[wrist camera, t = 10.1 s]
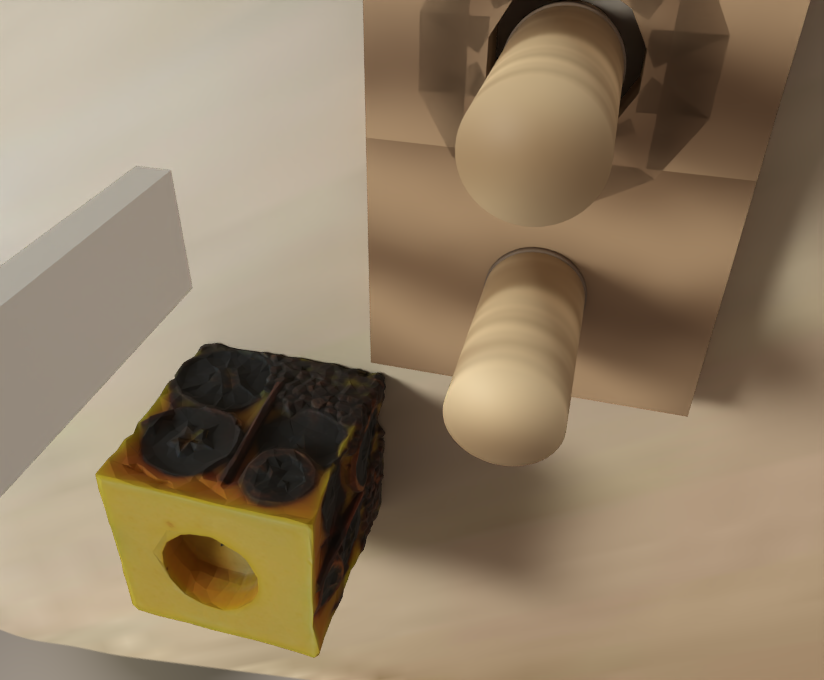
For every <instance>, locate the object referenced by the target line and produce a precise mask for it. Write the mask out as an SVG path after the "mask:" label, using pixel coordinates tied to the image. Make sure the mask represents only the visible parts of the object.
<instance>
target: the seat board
mask: <svg viewBox="0 0 824 680" xmlns="http://www.w3.org/2000/svg"><path fill="white" fill-rule="evenodd" d="M512 1H513V0H363V23H364V68H365V113H366V159H367V204H368V249H369V294H370V340H371V362H372V363H377V364H383V365H389V366H395V367H401V368H407V369H412V370H418V371H424V372H430V373H436V374H442V375H448V376H453V377H452V380H451V383H450V386H449V389H448V392H447V394H446V397H445V400H444V404H443V418H444V423H445V425H446V428H447V430H448V432H449V434H450V435H451V436H452V438H453V439H454V440H455V441H456V443H457V444H458V445H459V446H461V447H462V448H463V449H464V450H465V451H467V452H468V453H470V454H471V455H473V456H475V457H477V458H479V459H481V460H483V461H486V462H489V463H493V464H497V465H503V466H524V465H530V464H534V463H537V462H539V461H542V460H544V459H546V458H547V457H549V456H550V455H552V454H553V453H554V452H555V451H556V450H557V449H558V448H559V446H560V445H561V444H562V442H563V439H564V437H565V433H566V428H567V421H568V414H569V407H570V400H571V397H576V398H582V399H588V400H594V401H599V402H605V403H611V404H617V405H623V406H629V407H634V408H640V409H646V410H652V411H658V412H664V413H670V414H675V415H681V416H687V417H688V413H689V410H690V406H691V403H692V400H693V396H694V393H695V390H696V386H697V383H698V379H699V376H700V373H701V369H702V366H703V362H704V359H705V356H706V352H707V349H708V345H709V342H710V339H711V335H712V332H713V329H714V325H715V322H716V318H717V315H718V312H719V308H720V305H721V301H722V298H723V295H724V291H725V288H726V284H727V281H728V278H729V274H730V271H731V268H732V264H733V261H734V257H735V254H736V251H737V247H738V244H739V240H740V237H741V234H742V230H743V227H744V223H745V220H746V217H747V213H748V210H749V207H750V203H751V200H752V196H753V193H754V190H755V186H756V183H757V179H758V176H759V173H760V169H761V166H762V162H763V159H764V156H765V152H766V149H767V146H768V142H769V139H770V135H771V132H772V129H773V125H774V122H775V118H776V115H777V112H778V108H779V105H780V101H781V98H782V95H783V91H784V88H785V85H786V81H787V78H788V74H789V71H790V68H791V64H792V61H793V57H794V54H795V51H796V47H797V44H798V40H799V37H800V34H801V30H802V27H803V24H804V20H805V17H806V13H807V10H808V7H809V3H810V0H621V1H622V2H624V3H625V4H626V5H628V6H629V7H630V8H632V10H633V13H634V16H635V18H636V21H637V24H638V26H639V29H640V32H641V34H642V37H643V40H644V43H645V45H646V48H645V53H644V59H643V64H642V70H641V75H640V77H639V78H638V79H637V80H636V82H635V83H634V84H633V85H632V86H631V88H630V89H629V90H628V91H627V93H626V94H625V95H624V96H623V98H622V99H621V100H620V106H619V114H618V122H617V130H616V138H615V146H614V154H613V163H612V168H611V172H610V175H609V178H608V180H607V183H606V185H605V187H604V188H603V190H602V192H601V193H600V195H599V196H598V197H597V198H596V200H595V201H594V202H593V203H592V204H591V205H590V206H589V207H588V208H587V209H585V210H584V211H583V212H581V213H580V214H578V215H577V216H575V217H573V218H571V219H569V220H567V221H564V222H562V223H558V224H555V225H550V226H544V227H526V226H520V225H515V224H511V223H508V222H505V221H503V220H501V219H499V218H496V217H495V216H493V215H491V214H490V213H488V212H487V211H486V210H484V209H483V208H482V207H481V206H480V205H479V204H478V203H477V202H476V201H475V200H474V199H473V198H472V197H471V196H470V194H469V193H468V191H467V190H466V188H465V186H464V185H463V183H462V180H461V178H460V176H459V172H458V169H457V165H456V158H455V144H456V136H457V132H458V129H459V126H460V123H461V121H462V119H463V117H464V115H465V113H466V112H467V110H468V108H469V107H470V105H471V103H472V102H473V100H474V98H475V97H476V95H477V93H478V92H479V90H480V88H481V87H482V85H483V83H484V81H485V80H486V78H487V76H488V75H489V73H490V71H491V70H492V68H493V66H494V65H495V59H496V46H497V33H498V22H499V21H500V19H501V18H502V16H503V15H504V13H505V12H506V10H507V8H508V7H509V5H510V4H511V2H512Z"/></svg>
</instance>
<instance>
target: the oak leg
mask: <svg viewBox="0 0 824 680" xmlns="http://www.w3.org/2000/svg"><path fill="white" fill-rule="evenodd" d="M625 73H626V51H625V46H624V43H623V39H622V37H621V35H620V33H619V31H618V29H617V28H616V26H615V25H614V24H613V22H612V21H611V20H610V19H609V18H608V17H607V16H606V15H605V14H604V13H603V12H602V11H601V10H600V9H599V8H597V7H596V6H594V5H592V4H590V3H587V2H584V1H580V0H563V1H559V2H554V3H550V4H546V5H544V6H541V7H539V8H537V9H535V10H534V11H532V12H530V13H529V14H528V15H527V16H525V17H524V18H523V19H522V20H521V21H520V22H519V23H518V24H517V26H516V27H515V28H514V30H513V31H512V33H511V34H510V36H509V38H508V40H507V42H506V44H505V47H504V50H503V51H502V53H501V55H500V56H499V58H498V60H497V61H496V63H495V65H494V66H493V68H492V70H491V71H490V73H489V75H488V76H487V78H486V80H485V81H484V83H483V85H482V87H481V88H480V90H479V92H478V93H477V95H476V97H475V98H474V100H473V102H472V103H471V105H470V107H469V108H468V110H467V112H466V113H465V115H464V117H463V119H462V121H461V123H460V126H459V129H458V132H457V136H456V144H455V158H456V165H457V169H458V172H459V176H460V178H461V180H462V183H463V185H464V186H465V188H466V190H467V191H468V193H469V194H470V196H471V197H472V198H473V199H474V200H475V201H476V202H477V203H478V204H479V205H480V206H481V207H482V208H483V209H484V210H486V211H487V212H488V213H490V214H491V215H493V216H495V217H496V218H499V219H501V220H503V221H505V222H508V223H511V224H515V225H520V226H526V227H544V226H550V225H555V224H558V223H562V222H564V221H567V220H569V219H571V218H573V217H575V216H577V215H578V214H580V213H581V212H583V211H584V210H585V209H587V208H588V207H589V206H590V205H591V204H592V203H593V202H594V201H595V200H596V198H597V197H598V196H599V195H600V193H601V192H602V190H603V188H604V187H605V185H606V183H607V180H608V178H609V175H610V172H611V168H612V163H613V154H614V146H615V138H616V130H617V122H618V114H619V106H620V98H621V90H622V85H623V82H624V78H625Z"/></svg>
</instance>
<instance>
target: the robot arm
mask: <svg viewBox="0 0 824 680" xmlns="http://www.w3.org/2000/svg"><path fill="white" fill-rule="evenodd" d="M191 289H192V282H191V277H190V271H189V266H188V260H187V255H186V250H185V244H184V239H183V233H182V228H181V222H180V217H179V211H178V206H177V201H176V195H175V190H174V184H173V179H172V173H171V170H166V169H158V168H150V167H142V166H135V167H134V168H133V169H131V170H130V171H128V172H127V173H126V174H124V175H123V176H122V177H120V178H119V179H118V180H116V181H115V182H114V183H112V184H111V185H109V186H108V187H107V188H105V189H104V190H103V191H101V192H100V193H99V194H97V195H96V196H95V197H93V198H92V199H90V200H89V201H88V202H86V203H85V204H84V205H82V206H81V207H80V208H78V209H77V210H76V211H74V212H73V213H72V214H70V215H69V216H67V217H66V218H65V219H63V220H62V221H61V222H59V223H58V224H57V225H55V226H54V227H53V228H51V229H50V230H48V231H47V232H46V233H44V234H43V235H42V236H40V237H39V238H38V239H36V240H35V241H34V242H32V243H31V244H29V245H28V246H27V247H25V248H24V249H23V250H21V251H20V252H19V253H17V254H16V255H15V256H13V257H12V258H10V259H9V260H8V261H6V262H5V263H4V264H2V265H1V266H0V497H1V496H2V495H3V494H4V493H5V492H6V491H7V490H8V489H9V487H10V486H11V485H12V484H13V483H14V482H15V481H16V480H17V479H18V478H19V477H20V475H21V474H22V473H23V472H24V471H25V470H26V469H27V468H28V467H29V466H30V465H31V463H32V462H33V461H34V460H35V459H36V458H37V457H38V456H39V455H40V454H41V453H42V451H43V450H44V449H45V448H46V447H47V446H48V445H49V444H50V443H51V442H52V441H53V439H54V438H55V437H56V436H57V435H58V434H59V433H60V432H61V431H62V430H63V429H64V428H65V426H66V425H67V424H68V423H69V422H70V421H71V420H72V419H73V418H74V417H75V416H76V414H77V413H78V412H79V411H80V410H81V409H82V408H83V407H84V406H85V405H86V404H87V402H88V401H89V400H90V399H91V398H92V397H93V396H94V395H95V394H96V393H97V392H98V390H99V389H100V388H101V387H102V386H103V385H104V384H105V383H106V382H107V381H108V380H109V379H110V377H111V376H112V375H113V374H114V373H115V372H116V371H117V370H118V369H119V368H120V367H121V365H122V364H123V363H124V362H125V361H126V360H127V359H128V358H129V357H130V356H131V355H132V353H133V352H134V351H135V350H136V349H137V348H138V347H139V346H140V345H141V344H142V343H143V341H144V340H145V339H146V338H147V337H148V336H149V335H150V334H151V333H152V332H153V331H154V330H155V328H156V327H157V326H158V325H159V324H160V323H161V322H162V321H163V320H164V319H165V318H166V316H167V315H168V314H169V313H170V312H171V311H172V310H173V309H174V308H175V307H176V306H177V304H178V303H179V302H180V301H181V300H182V299H183V298H184V297H185V296H186V295H187V294H188V292H189V291H190V290H191Z"/></svg>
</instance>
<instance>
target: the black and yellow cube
mask: <svg viewBox="0 0 824 680" xmlns="http://www.w3.org/2000/svg"><path fill="white" fill-rule="evenodd" d="M384 379H385V377H383V376H382V375H381V374H379V373H371V374H368V373H366V372H364V371H361V370H357V369H346V368H343V367H340V366H338V365H335V364H329V363H319V362H314V361H310V360H306V359H302V358H289V357H284V356H282V355H271V354H268V353H264V352H261V353H259V352H252V351H245V350H239V349H234V348H229V347H226V346H223V345H220V344H217V343H215V344H204V345H203V346H201V347H200V349H199V351H198V352H197V354H196V355H195V356H194V357H193V358H191V359H189V360H187V361H186V362H184V363H183V364H182V366H181V367H180V368H179V370H178V371H177V373H176V374H175V379H173V380H171V381H169V383H168V384H167V385H166V387H165V388H164V390H163V392H162V394H161V395H160V397H159V398H158V399H157V401H156V402H155V403H154V405H153V406H152V407H151V409H150V410H149V411H148V412H147V414H146V415H145V416H144V417H143V418H142V419H141V420H140V421H139V422H138V424H137V427H136V429H135V432H134V434H132V435H131V436H129V437H127V438H126V439H125V440H124V441H123V442H122V444H121V445H120V447H119V448H118V450H117V451H116V452H115V453H114V454H113V455H112V456H111V457H109V458H108V460H107V461H106V462H105V463H104V464H103V466H102V467H101V468H100V469H99V470H98V472H97V473H96V479H97V484H98V489H99V492H100V495H101V498H102V501H103V504H104V507H105V510H106V513H107V517H108V521H109V524H110V526H111V529H112V532H113V536H114V539H115V542H116V546H117V549H118V552H119V556H120V559H121V562H122V568H123V573H124V576H125V579H126V582H127V585H128V589H129V593H130V596H131V600H132V604H133V605H134V606H135V607H136V608H137V609H138V610H141V611H145V612H148V613H151V614H154V615H158V616H162V617H166V618H170V619H174V620H178V621H182V622H187V623H191V624H194V625H197V626H201V627H204V628H208V629H211V630H215V631H219V632H223V633H228V634H232V635H236V636H240V637H244V638H248V639H252V640H256V641H260V642H264V643H267V644H271V645H274V646H278V647H281V648H284V649H288V650H291V651H295V652H298V653H301V654H304V655H307V656H310V657H313V658H314V657H316V656H318V655H319V653H320V650H321V647H322V643H323V640H324V637H325V635H326V632H327V629H328V627H329V624H330V622H331V619H332V616H333V615H334V613H335V611H336V609H337V607H338V605H339V603H340V601H341V599H342V597H343V591H344V588H345V585H346V583H347V580H348V577H349V574H350V571H351V569H352V568H353V567H354V565H355V563H356V561H357V559H358V557H359V555H360V553H361V552H362V551H363V550H364V547H365V544H366V538H367V536H368V534H369V532H370V531H371V530H370V529H371V527H372V525H373V521H374V520H375V519H376V517H377V515H378V512H379V508H380V505H381V486H382V483H381V481H382V478H383V476H384V475H383V468H384V463H383V453H384V440H383V438H382V437H383V436H384V435H385V432H384V431H383V429H382V428H381V427H380V426H379V424H378V421H377V419H378V415H379V412H380V407H381V406H382V403H383V401H384V398H385V395H384V390H385V387H386V386H385V383H384Z"/></svg>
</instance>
